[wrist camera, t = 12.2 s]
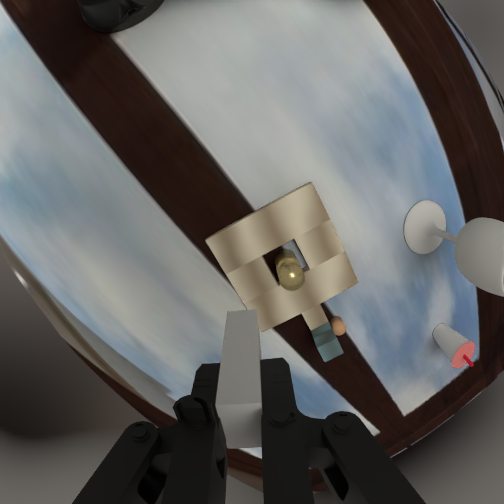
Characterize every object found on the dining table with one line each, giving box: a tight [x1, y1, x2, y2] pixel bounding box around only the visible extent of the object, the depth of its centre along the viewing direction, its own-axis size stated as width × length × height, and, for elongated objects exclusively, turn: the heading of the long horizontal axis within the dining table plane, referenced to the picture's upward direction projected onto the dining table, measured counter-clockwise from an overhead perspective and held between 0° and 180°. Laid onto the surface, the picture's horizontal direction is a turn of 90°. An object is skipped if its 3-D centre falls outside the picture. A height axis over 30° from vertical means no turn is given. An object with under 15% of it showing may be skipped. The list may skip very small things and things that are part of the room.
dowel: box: [330, 316, 346, 335], centre depth 43 cm, size 2×2×3 cm
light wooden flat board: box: [205, 182, 358, 362], centre depth 39 cm, size 16×24×6 cm, turn 29°
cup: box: [433, 323, 475, 368], centre depth 40 cm, size 5×5×12 cm
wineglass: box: [404, 200, 504, 296], centre depth 30 cm, size 9×9×21 cm
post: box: [274, 249, 305, 291], centre depth 38 cm, size 3×3×8 cm
